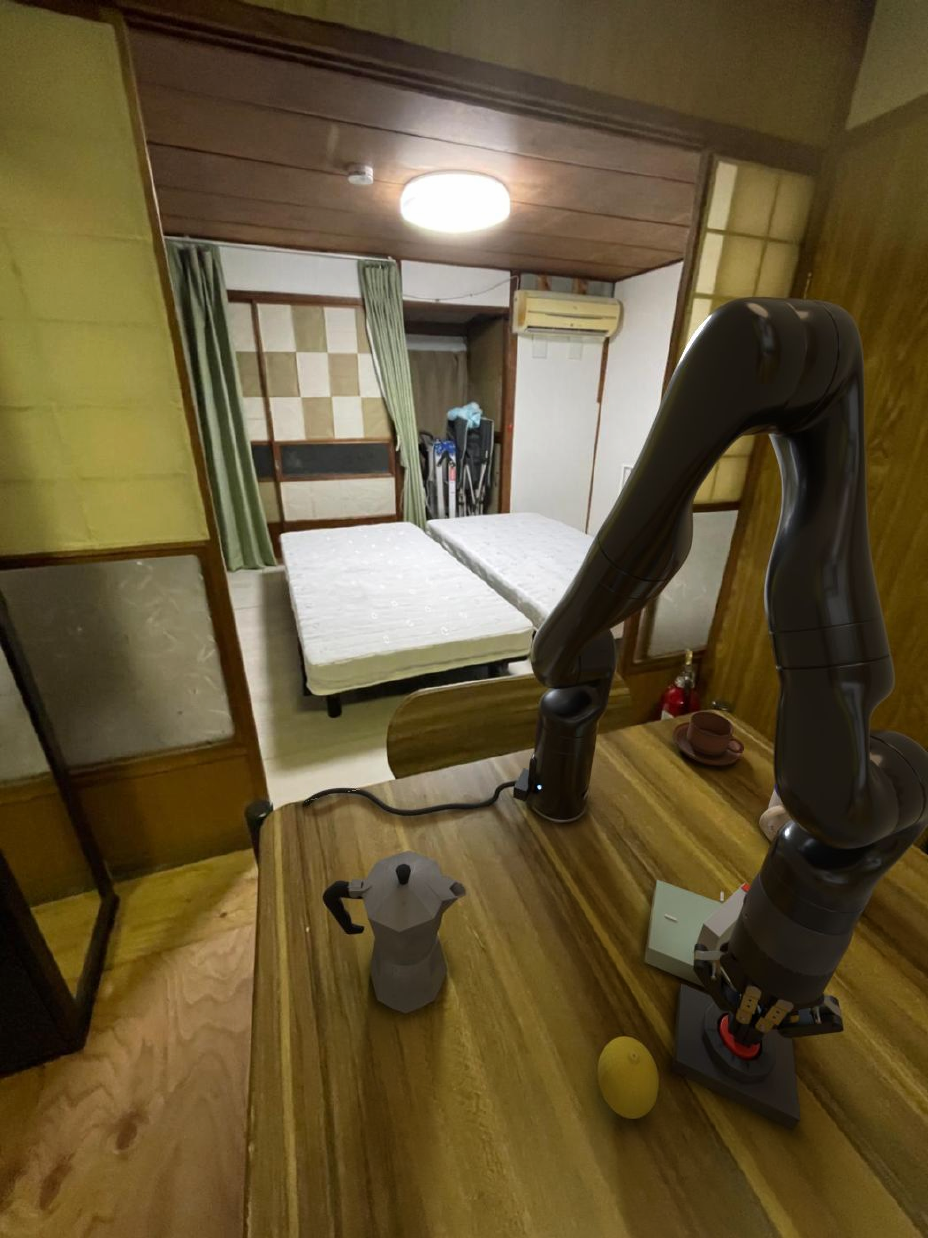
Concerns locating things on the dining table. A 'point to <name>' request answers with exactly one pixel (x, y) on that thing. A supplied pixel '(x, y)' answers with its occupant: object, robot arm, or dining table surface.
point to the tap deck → (677, 929)
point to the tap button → (736, 1047)
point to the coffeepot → (401, 925)
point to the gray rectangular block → (722, 921)
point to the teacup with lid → (774, 816)
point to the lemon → (628, 1077)
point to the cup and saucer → (708, 739)
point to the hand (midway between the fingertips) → (740, 1035)
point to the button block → (734, 1061)
